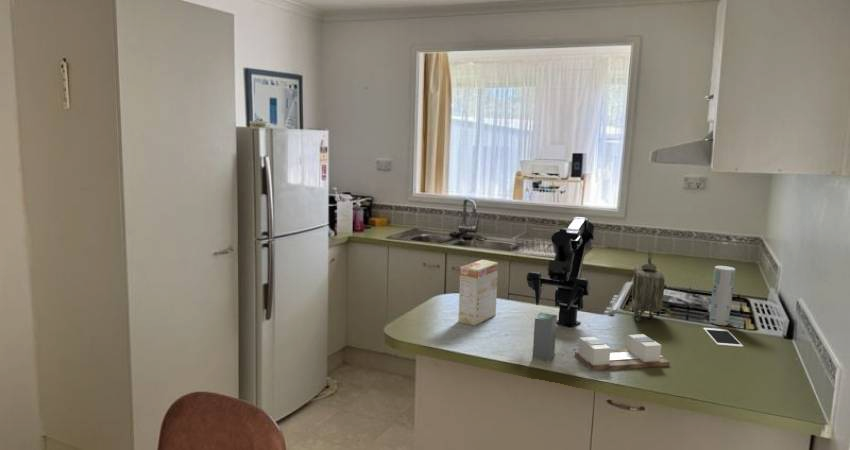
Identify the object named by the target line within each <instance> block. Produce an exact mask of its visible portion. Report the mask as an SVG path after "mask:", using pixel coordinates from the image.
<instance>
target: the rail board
mask: <svg viewBox="0 0 850 450" xmlns="http://www.w3.org/2000/svg"><path fill="white" fill-rule="evenodd" d="M574 356H575V357H576V358H577V360H579V361H580V362H582V364H584V365H585V366H586V367H588V368H589V369H590V370H591V371H592V370H593V371H594V372H596V371H611V370H613V371H614V370H626V369H628V370H629V369H642V368H654V367H655V368H656V367H670V364H671V361H669V360H667V359H666V358H664V356H663V355H661V354H660V361H652V362H644V361H642V360H641V359H640V358H639V357H638V356H636V355H635V354H633V353H632V352H629V351H628V350H627V348H621V349H618V348H617V349H611V351H610V363H609V364H605V365H592V364H591V363H590V361H589V360H587V359H586V358H585V357H584V356H582V355H580V354H579V353H578V351H575V352H574Z"/></svg>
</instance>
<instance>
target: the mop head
mask: <svg viewBox="0 0 850 450" xmlns="http://www.w3.org/2000/svg"><path fill="white" fill-rule="evenodd" d="M652 253H653V252H652V250H651V249H649V250H648V255H647V257H648V258H647V262H644V263H643V264H641V266H639V267H638V266H636V267H634V270H633V278H632V280H633V281H632V284H633V285H632V293H631V306H632V310H633V312H634V313H639V315H638V317H636V319H635V320H636V322H641V320H642V319H641V317H642V315H643V314H644V313H645V312H648V313H649V314H648V318H649V319H650V320H653V318H654V314H652V313H658V312H660V311H662V309H663V304H664V303H663V301H664V293H665V291H664V290H665V283H666V282H665V275H664V273H663V272H662V271H660V270H659V269H657V266H656V265H655V263H654V262H652V259H653V254H652Z"/></svg>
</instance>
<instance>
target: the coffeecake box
mask: <svg viewBox="0 0 850 450" xmlns="http://www.w3.org/2000/svg"><path fill="white" fill-rule="evenodd" d="M459 268H460V269H459V292H458V293H459V298H458V320H457V321H458V323H463V324H467V325H470V326H477V325H478V324H481V323H483V322H485V321H487V320H488V319H490V318H493V317H494V316H496V314H497V313H496V312H497V293H498V291H497V290H498V275H499V274H498V272H499V271H498V270H499V262H497V261H491V260H488V259H480V260H478V261H474V262H472V263H468V264H465V265H462V266H459Z"/></svg>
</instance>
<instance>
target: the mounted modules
mask: <svg viewBox="0 0 850 450" xmlns="http://www.w3.org/2000/svg"><path fill="white" fill-rule="evenodd" d="M578 341H579V342H578V351H577V352H578V353H579V354H580V355H582V356H584V357H585V358H586V359H587V360H589V361H590V363H591V364H592V365H605V364H609V363H610V351H611V350H612V348H611V347H610V346H608V345H607V344H606V343H605V342H603V341H602V340H600V339H598V337H596V336H587V337H586V336H584V337H583V336H581V337H579V338H578ZM626 346H627V347H626V349H627V350H628V351H629V352H632V353H633V354H635V355H636V356H638V357H639V358H640V359H641V360H642V361H644V362H652V361H660V355H661V351H662V344H660V343H659V342H657V341H655V340H654V339H652V338H651V337H649V336H647V335H645V334H644V333H641V334H639V333H638V334H628V337H627V345H626Z"/></svg>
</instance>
